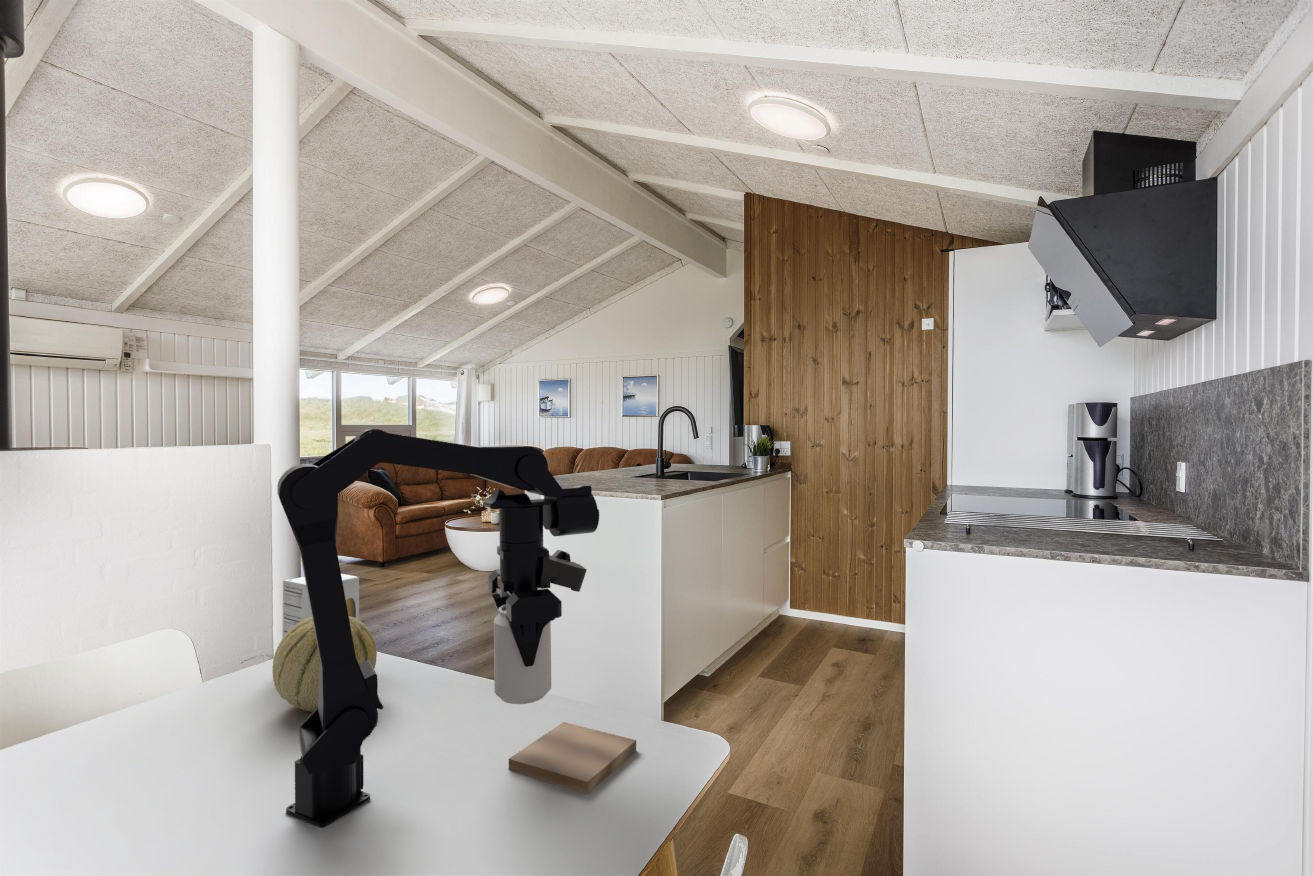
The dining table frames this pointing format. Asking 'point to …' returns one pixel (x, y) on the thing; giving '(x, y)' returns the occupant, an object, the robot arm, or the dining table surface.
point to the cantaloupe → (311, 661)
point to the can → (519, 665)
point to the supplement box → (298, 601)
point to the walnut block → (573, 756)
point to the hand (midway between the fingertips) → (522, 656)
